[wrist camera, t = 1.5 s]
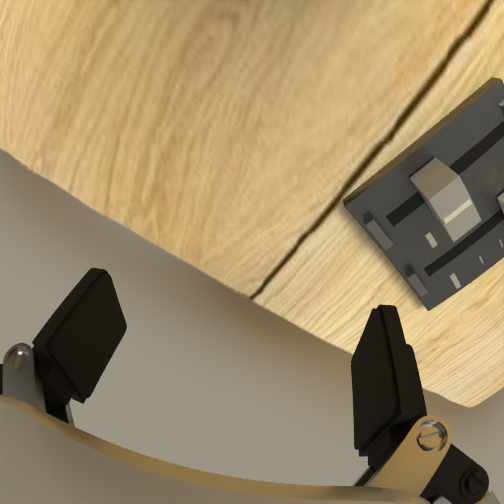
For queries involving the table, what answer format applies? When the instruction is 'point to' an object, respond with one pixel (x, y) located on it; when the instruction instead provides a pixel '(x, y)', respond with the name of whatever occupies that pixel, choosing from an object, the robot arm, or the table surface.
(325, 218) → the table surface
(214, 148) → the table surface
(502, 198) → the fader knob
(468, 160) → the console
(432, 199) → the fader
